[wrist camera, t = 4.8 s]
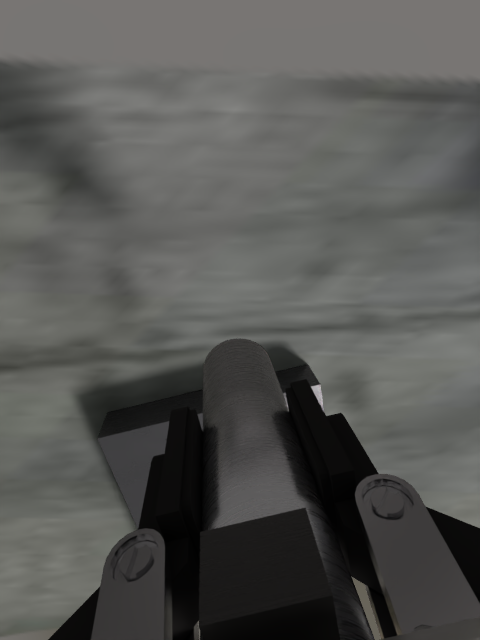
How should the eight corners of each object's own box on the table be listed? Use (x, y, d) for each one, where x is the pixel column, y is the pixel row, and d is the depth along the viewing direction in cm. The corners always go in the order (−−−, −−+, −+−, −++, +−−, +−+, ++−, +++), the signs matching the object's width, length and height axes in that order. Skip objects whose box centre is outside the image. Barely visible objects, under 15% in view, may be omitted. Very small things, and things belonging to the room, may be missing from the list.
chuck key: (258, 298, 14) (390, 582, 4) (281, 417, 17) (405, 793, 6) (186, 314, 14) (140, 640, 4) (219, 431, 17) (242, 832, 6)
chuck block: (307, 364, 28) (320, 384, 25) (329, 508, 34) (341, 537, 31) (107, 412, 27) (97, 438, 24) (165, 550, 33) (162, 583, 30)
